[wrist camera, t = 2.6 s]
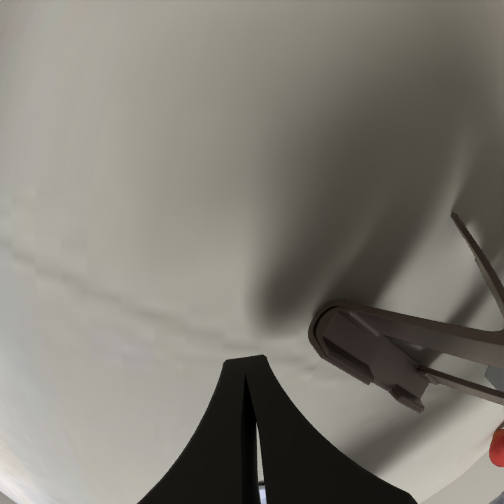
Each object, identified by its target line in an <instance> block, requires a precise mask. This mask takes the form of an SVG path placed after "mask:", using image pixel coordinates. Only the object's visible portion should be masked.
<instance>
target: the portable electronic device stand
mask: <svg viewBox="0 0 504 504" xmlns="http://www.w3.org/2000/svg"><path fill="white" fill-rule="evenodd" d="M451 218H452V219H453V221H454V222H455V224H456V226H457V228H458V229H459V231H460V233H461V234H462V236H463V238H464V239H465V240H466V242H467V244H468V246H469V247H470V249H471V251H472V252H473V254H474V256H475V261H476V263H477V265H478V267H479V269H480V271H481V273H482V275H483V277H484V279H485V280H486V282H487V284H488V286H489V288H490V290H491V292H492V294H493V296H494V298H495V300H496V302H497V304H498V306H499V309H500V311H501V313H502V315H503V317H504V287H503V285H502V284H501V282H500V280H499V278H498V277H497V275H496V273H495V271H494V270H493V268H492V266H491V265H490V263H489V261H488V260H487V258H486V257H485V255H484V254H483V252H482V250H481V249H480V247H479V246H478V244H477V243H476V241H475V240H474V238H473V237H472V236H471V234H470V233H469V231H468V230H467V228H466V227H465V226H464V224H463V223H462V221H461V220H460V218H459V217H458V215H457V214H456V213H454V214H453V215H452V216H451ZM384 335H387V336H390V337H393V338H396V339H399V340H403V341H406V342H409V343H412V344H416V345H419V346H422V347H426V348H429V349H433V350H436V351H439V352H443V353H446V354H450V355H453V356H457V357H460V358H464V359H468V360H471V361H475V362H479V363H482V364H486V365H490V366H494V367H498V368H502V369H504V330H502V331H495V332H490V331H483V330H478V329H472V328H467V327H462V326H457V325H452V324H447V323H443V322H438V321H433V320H428V319H423V318H419V317H414V316H409V315H405V314H400V313H396V312H391V311H387V310H382V309H378V308H373V307H369V306H364V305H360V304H356V303H351V302H347V301H343V300H333V301H331V302H329V303H327V304H326V305H324V306H323V307H322V308H321V309H320V310H319V311H318V312H317V313H316V315H315V316H314V318H313V319H312V321H311V324H310V326H309V330H308V338H309V341H310V343H311V345H312V346H313V347H314V349H315V350H316V351H317V353H318V354H319V356H320V357H321V358H323V359H324V360H326V361H328V362H329V363H331V364H333V365H334V366H336V367H338V368H339V369H341V370H343V371H345V372H346V373H348V374H350V375H351V376H353V377H355V378H357V379H358V380H360V381H362V382H364V383H365V384H367V385H369V384H370V382H372V383H375V384H376V385H378V386H380V387H381V388H383V389H385V390H387V391H388V392H389V393H390V394H391V395H392V396H393V397H394V398H395V399H396V400H397V401H398V402H400V403H402V404H404V405H405V406H407V407H409V408H411V409H413V410H415V411H417V412H419V413H421V412H422V411H424V406H423V404H422V403H421V400H420V398H421V396H422V394H423V393H424V391H425V389H426V387H427V385H428V384H429V383H432V384H435V385H438V384H439V383H441V384H443V385H446V386H449V387H451V388H454V389H457V390H460V391H463V392H465V393H468V394H471V395H474V396H477V397H480V398H483V399H486V400H488V401H491V402H494V403H498V404H501V405H504V392H501V391H498V390H495V389H492V388H488V387H485V386H482V385H479V384H476V383H473V382H469V381H466V380H463V379H460V378H457V377H454V376H451V375H448V374H445V373H442V372H440V371H437V370H434V369H431V368H428V367H425V366H422V365H420V364H417V363H416V362H415V361H414V360H412V359H411V358H410V357H409V356H408V355H406V354H405V353H404V352H403V351H402V350H401V349H399V348H398V347H397V346H396V345H395V344H393V343H392V342H391V341H390V340H389V339H387V338H386V337H385V336H384Z"/></svg>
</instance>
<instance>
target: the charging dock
mask: <svg viewBox="0 0 504 504" xmlns="http://www.w3.org/2000/svg"><path fill="white" fill-rule="evenodd" d="M485 377H486V378H487V379H488V380H489V381H490V382H491V384H492V385H493V386H494V387H495V388H496V389H497V390H498V391H501V392H504V369H502V368H498V367H494V366H490V365H489V368H488V370H487V372H486V374H485Z"/></svg>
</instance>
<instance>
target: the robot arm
mask: <svg viewBox="0 0 504 504" xmlns="http://www.w3.org/2000/svg"><path fill="white" fill-rule="evenodd" d="M256 423H257V427H258V431H259V439H260V447H261V456H262V466H263V475H264V484H265V485H262V486H259V485H258V473H257V433H256ZM137 504H418V503H417V502H416V501H415V499H414V498H413V497H412V496H411V495H410V494H409V493H407V492H405V491H403V490H401V489H399V488H397V487H395V486H393V485H391V484H389V483H387V482H385V481H384V480H382V479H380V478H378V477H377V476H375V475H373V474H372V473H370V472H369V471H367V470H365V469H364V468H362V467H361V466H359V465H358V464H357V463H355V462H354V461H353V460H351V459H350V458H349V457H347V456H346V455H345V454H343V453H342V452H341V451H339V450H338V449H337V448H336V447H335V446H333V445H332V444H331V443H330V442H329V441H328V440H327V439H325V438H324V437H323V436H322V435H321V434H320V433H319V432H318V431H317V430H316V429H315V428H314V427H313V426H312V425H311V424H310V422H309V421H308V420H307V419H306V418H305V417H304V416H303V415H302V413H301V412H300V411H299V410H298V409H297V407H296V406H295V405H294V404H293V402H292V401H291V400H290V398H289V397H288V395H287V394H286V393H285V391H284V390H283V388H282V387H281V385H280V384H279V382H278V380H277V379H276V377H275V375H274V373H273V371H272V370H271V367H270V365H269V363H268V360H267V357H266V356H264V355H257V356H250V357H243V358H236V359H229V360H226V361H225V362H224V363H223V368H222V371H221V374H220V378H219V381H218V383H217V386H216V389H215V391H214V394H213V396H212V398H211V401H210V403H209V405H208V408H207V410H206V412H205V414H204V416H203V418H202V420H201V421H200V423H199V425H198V427H197V429H196V431H195V433H194V434H193V436H192V438H191V439H190V441H189V443H188V444H187V446H186V447H185V449H184V450H183V452H182V453H181V455H180V456H179V457H178V459H177V460H176V461H175V463H174V464H173V465H172V467H171V468H170V469H169V471H168V472H167V473H166V474H165V475H164V477H163V478H162V479H161V480H160V481H159V482H158V483H157V484H156V485H155V486H154V487H153V488H152V489H151V490H150V491H149V492H148V493H147V494H146V496H145V497H144V498H143V499H142V500H140V501H139V502H138V503H137ZM489 504H504V491H503V492H502V493H501V495H499V496H498V497H497V498H496V499H494V500H493V501H492V502H491V503H489Z"/></svg>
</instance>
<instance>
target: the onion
mask: <svg viewBox="0 0 504 504" xmlns="http://www.w3.org/2000/svg"><path fill="white" fill-rule="evenodd" d="M489 457H490V460H491V461H492V463H493V464H495V465H496V466H498V467H504V429H499V430H497V431H496V432H495V433H494V435H493V438H492V442H491V445H490V449H489Z"/></svg>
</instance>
